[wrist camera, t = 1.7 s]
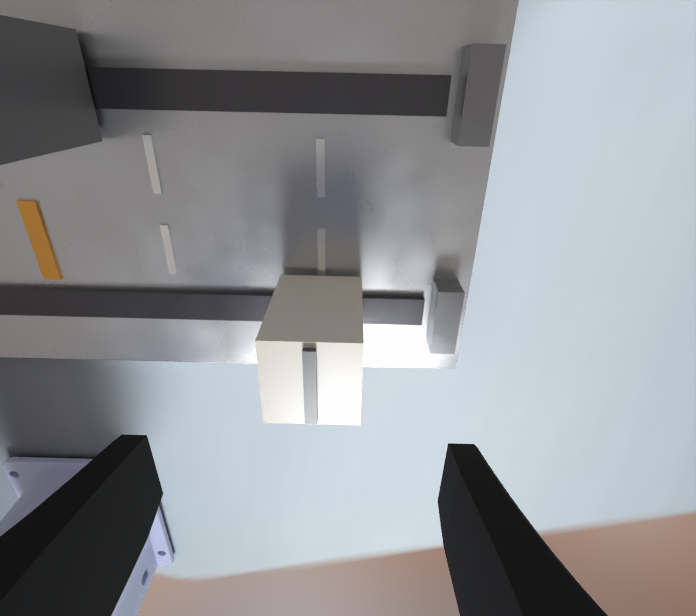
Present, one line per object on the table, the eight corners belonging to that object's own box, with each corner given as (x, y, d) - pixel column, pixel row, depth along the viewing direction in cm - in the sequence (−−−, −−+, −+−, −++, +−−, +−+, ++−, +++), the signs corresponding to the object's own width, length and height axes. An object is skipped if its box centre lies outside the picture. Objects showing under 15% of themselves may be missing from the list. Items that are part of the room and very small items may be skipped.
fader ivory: (359, 345, 18) (360, 429, 14) (284, 343, 18) (261, 427, 14) (361, 276, 17) (363, 347, 12) (280, 274, 17) (253, 344, 12)
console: (450, 353, 20) (461, 385, 18) (-50, 340, 20) (-98, 371, 18) (508, -9, 14) (536, -25, 11) (-235, -25, 14) (-343, -44, 12)
